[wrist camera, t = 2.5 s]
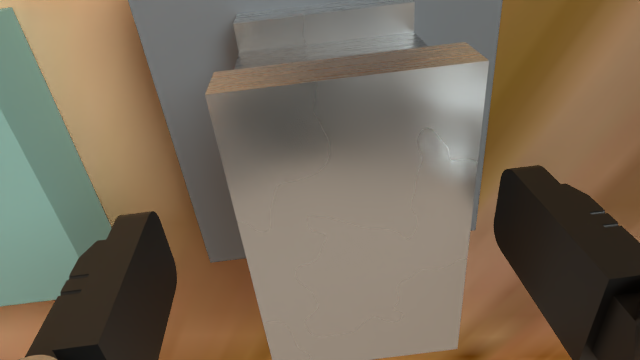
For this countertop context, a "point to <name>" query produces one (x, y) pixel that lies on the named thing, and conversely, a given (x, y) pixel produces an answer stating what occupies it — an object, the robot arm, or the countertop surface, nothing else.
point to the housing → (351, 176)
